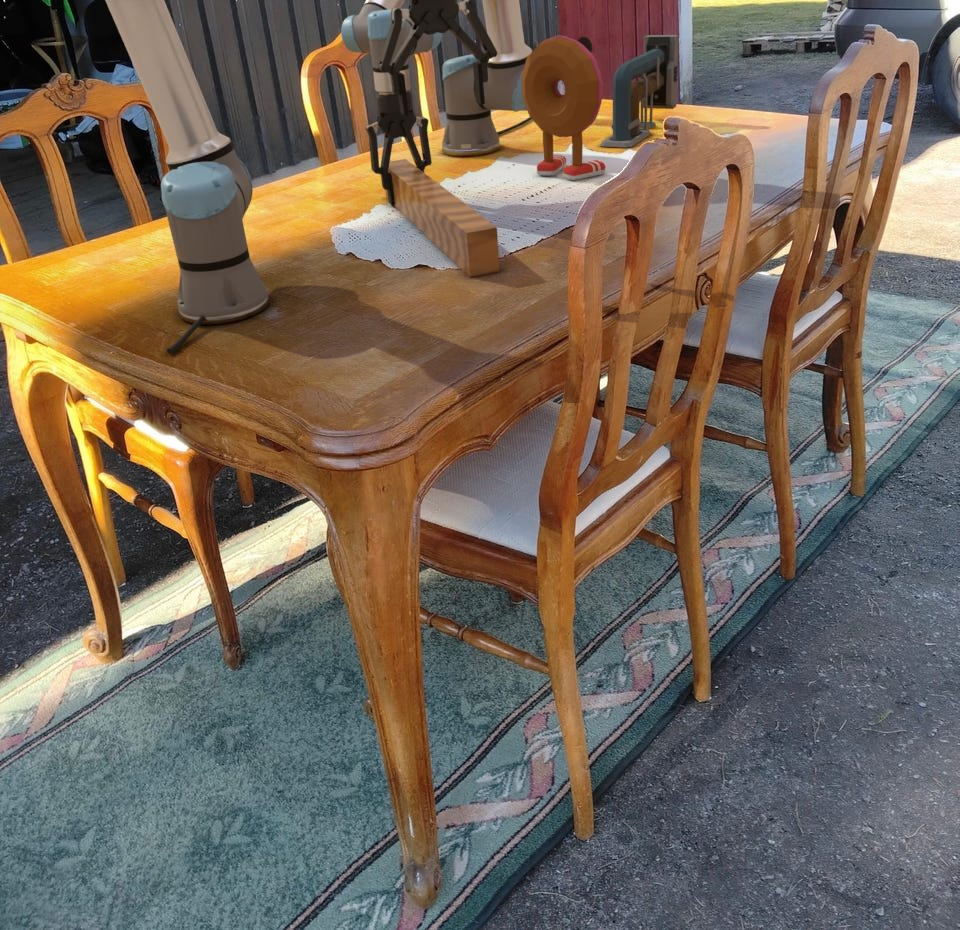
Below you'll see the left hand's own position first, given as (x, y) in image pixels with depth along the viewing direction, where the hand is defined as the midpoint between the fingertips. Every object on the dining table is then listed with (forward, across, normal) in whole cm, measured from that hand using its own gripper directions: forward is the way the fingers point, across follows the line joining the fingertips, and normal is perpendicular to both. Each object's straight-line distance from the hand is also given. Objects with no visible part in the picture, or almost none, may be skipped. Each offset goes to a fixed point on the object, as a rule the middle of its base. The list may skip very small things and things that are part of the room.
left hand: (442, 108), depth 166 cm
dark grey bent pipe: (+27, -74, -74) cm, 108 cm away
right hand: (+26, -1, -42) cm, 50 cm away
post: (+27, -1, -19) cm, 33 cm away
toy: (+27, -41, -45) cm, 66 cm away
